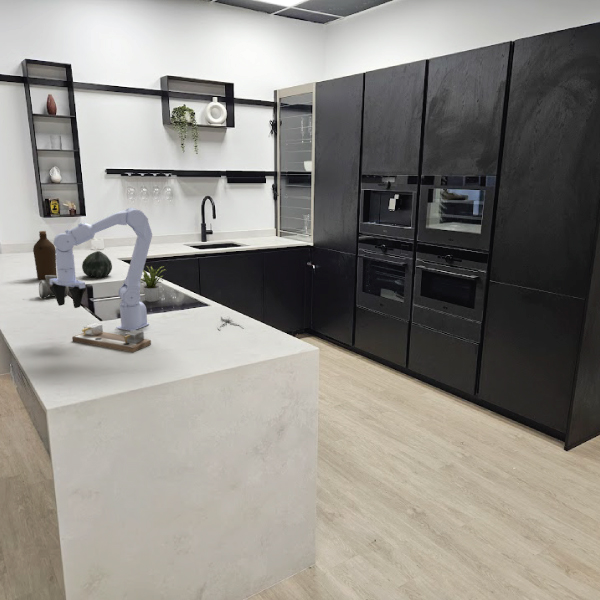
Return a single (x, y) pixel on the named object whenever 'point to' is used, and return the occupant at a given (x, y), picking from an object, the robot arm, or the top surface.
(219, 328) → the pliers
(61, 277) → the robot arm
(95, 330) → the block
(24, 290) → the top surface
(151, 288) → the house plant
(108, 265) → the squash
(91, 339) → the gauge board
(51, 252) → the olive oil
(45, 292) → the pipe fitting
